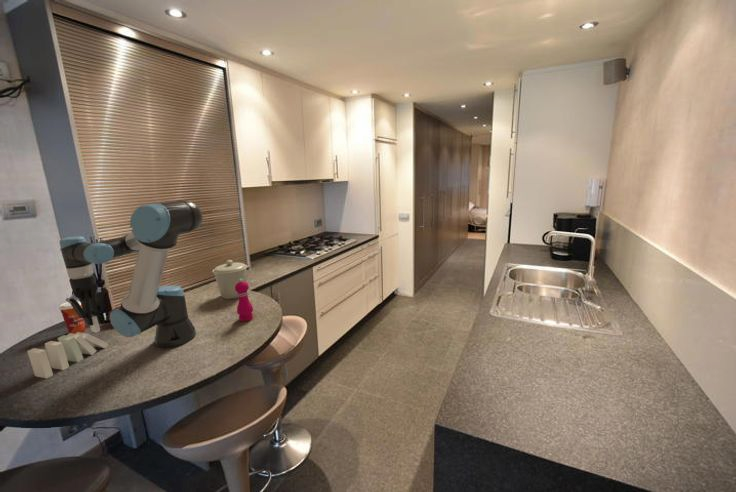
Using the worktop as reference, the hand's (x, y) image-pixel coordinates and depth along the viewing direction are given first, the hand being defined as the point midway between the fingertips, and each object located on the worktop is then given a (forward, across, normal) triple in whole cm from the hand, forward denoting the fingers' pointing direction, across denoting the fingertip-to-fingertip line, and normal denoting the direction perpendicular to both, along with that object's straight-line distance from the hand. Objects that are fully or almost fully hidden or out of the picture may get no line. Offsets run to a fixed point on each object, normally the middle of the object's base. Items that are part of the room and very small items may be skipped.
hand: (96, 331), depth 131 cm
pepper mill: (+8, -36, +44) cm, 57 cm away
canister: (+8, -60, +18) cm, 63 cm away
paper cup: (+8, -8, -26) cm, 28 cm away
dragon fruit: (+8, -20, -16) cm, 27 cm away
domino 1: (+7, +19, 0) cm, 20 cm away
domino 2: (+7, +14, 0) cm, 16 cm away
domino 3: (+7, +9, 0) cm, 12 cm away
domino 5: (+7, -1, 0) cm, 7 cm away
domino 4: (+7, +4, 0) cm, 8 cm away
